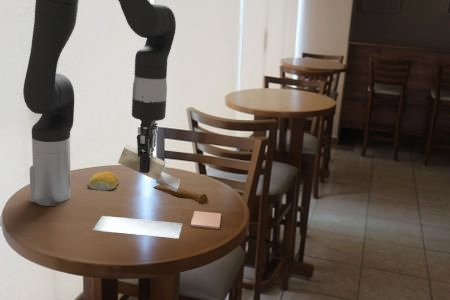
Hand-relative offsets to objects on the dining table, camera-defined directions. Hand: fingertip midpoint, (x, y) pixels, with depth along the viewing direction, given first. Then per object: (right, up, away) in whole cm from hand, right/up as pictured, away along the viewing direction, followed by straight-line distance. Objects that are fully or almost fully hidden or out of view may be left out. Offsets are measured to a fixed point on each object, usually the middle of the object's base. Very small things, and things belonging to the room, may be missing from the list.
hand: (145, 169), depth 109 cm
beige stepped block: (+1, -1, 0) cm, 1 cm away
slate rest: (-2, -15, +2) cm, 15 cm away
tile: (+10, -13, +9) cm, 19 cm away
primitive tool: (+5, -9, +26) cm, 28 cm away
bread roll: (-17, -6, +28) cm, 33 cm away
